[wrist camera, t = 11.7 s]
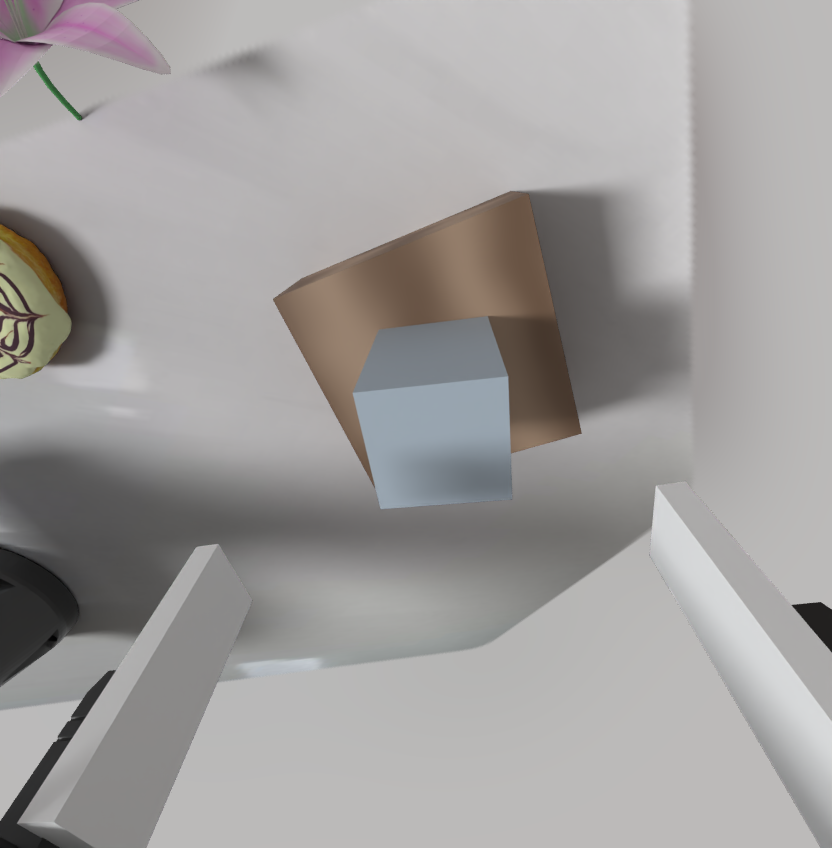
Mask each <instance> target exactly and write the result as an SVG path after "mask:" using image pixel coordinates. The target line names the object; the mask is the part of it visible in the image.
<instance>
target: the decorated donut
mask: <svg viewBox="0 0 832 848" xmlns="http://www.w3.org/2000/svg"><path fill="white" fill-rule="evenodd" d="M67 309H68V308H67V301H66V297H65V295H64V292H63V288H62V285H61V282H60V280H59V279H58V277H57V276H56V274H55V273H54V272H53V270H52V268H51V266H50V264H49V263H48V261H47V259H46V257H45V256H44V255H43V254H42V253H41V252H40V251H39V250H38V248H37V247H36V246H35V245H34V244H33V243H32V242H31V241H29V240H27V239H25V238H23V237H21V236H19V235H17V234H16V233H15V232H13V231H12V230H10V229H8V228H7V227H5V226H3V225H1V224H0V379H7V378H18V379H22V378H25V377H28V376H30V375H31V374H34V373H36V372H38V371H39V370H41V369H42V368H43V367H44V366H45V365H47V364H48V362H49V361H50V360H52V359H53V357H54V356H55V355H56V354H57V353H58V351H59V349H60V347H61V345H62V343H63V342H64V341H65V340H66V339H67V337H68V335H69V333H70V331H71V319H70V317H69V315H68V313H67Z"/></svg>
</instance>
